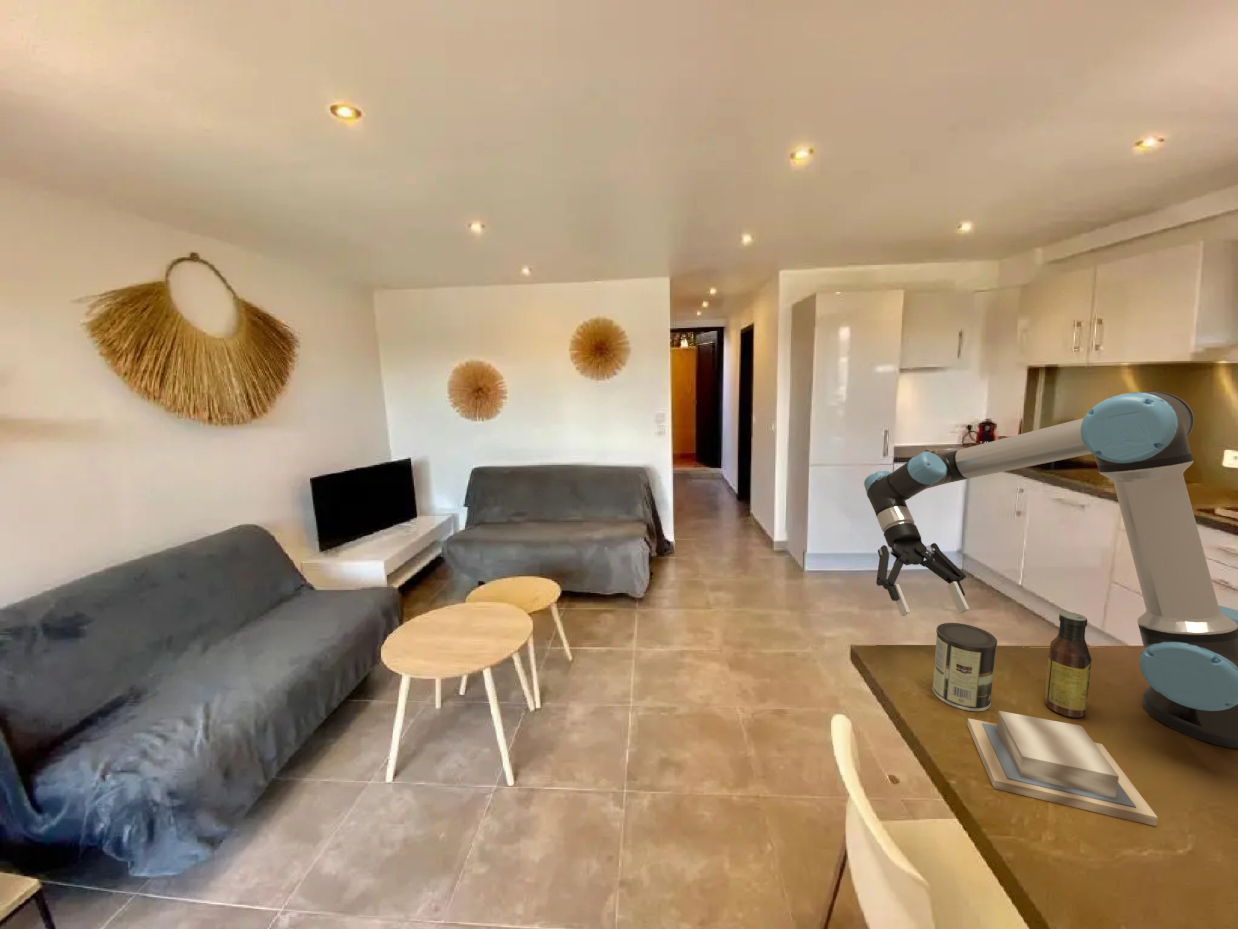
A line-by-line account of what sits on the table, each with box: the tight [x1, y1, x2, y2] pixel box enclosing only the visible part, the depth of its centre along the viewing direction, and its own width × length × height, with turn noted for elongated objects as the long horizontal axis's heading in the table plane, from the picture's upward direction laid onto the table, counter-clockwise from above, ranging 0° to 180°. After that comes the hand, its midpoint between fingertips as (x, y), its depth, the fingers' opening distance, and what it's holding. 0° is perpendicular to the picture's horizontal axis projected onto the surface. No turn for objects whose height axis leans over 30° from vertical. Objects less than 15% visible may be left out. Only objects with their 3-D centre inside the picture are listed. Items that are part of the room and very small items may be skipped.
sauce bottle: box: [1044, 611, 1092, 719], centre depth 98 cm, size 6×6×20 cm
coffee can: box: [931, 622, 998, 712], centre depth 103 cm, size 10×10×14 cm
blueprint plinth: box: [967, 710, 1159, 827], centre depth 84 cm, size 20×16×6 cm
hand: (935, 613), depth 111 cm, fingers open, 13 cm apart
